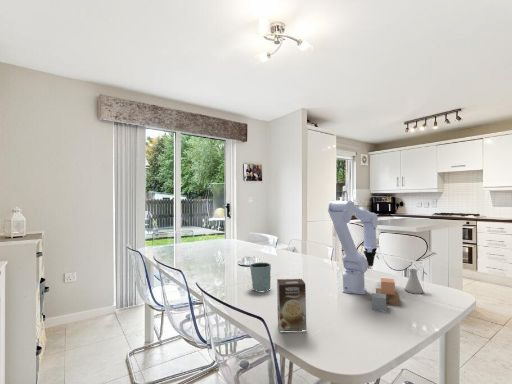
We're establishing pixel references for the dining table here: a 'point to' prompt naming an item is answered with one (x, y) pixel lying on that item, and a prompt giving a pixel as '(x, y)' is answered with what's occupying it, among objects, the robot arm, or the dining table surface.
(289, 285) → the coffee box
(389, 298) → the walnut base block
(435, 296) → the dining table surface
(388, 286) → the terracotta block
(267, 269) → the grey green cup
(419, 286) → the flask
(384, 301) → the slate grey block
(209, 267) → the dining table surface
